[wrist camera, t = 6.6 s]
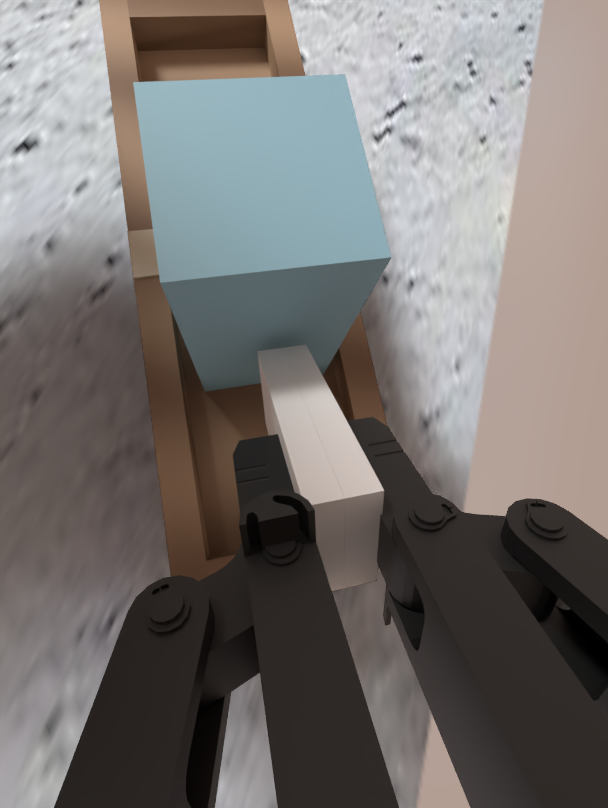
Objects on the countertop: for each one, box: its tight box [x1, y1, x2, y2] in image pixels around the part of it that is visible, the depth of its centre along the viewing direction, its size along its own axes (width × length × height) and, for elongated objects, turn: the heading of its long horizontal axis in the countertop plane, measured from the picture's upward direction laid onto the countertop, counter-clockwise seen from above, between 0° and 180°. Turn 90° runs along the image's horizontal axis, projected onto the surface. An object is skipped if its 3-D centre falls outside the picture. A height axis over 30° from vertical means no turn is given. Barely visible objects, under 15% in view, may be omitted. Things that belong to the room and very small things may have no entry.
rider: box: [133, 74, 391, 392], centre depth 14 cm, size 5×5×9 cm
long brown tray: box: [99, 0, 387, 581], centre depth 21 cm, size 26×9×7 cm, turn 11°
